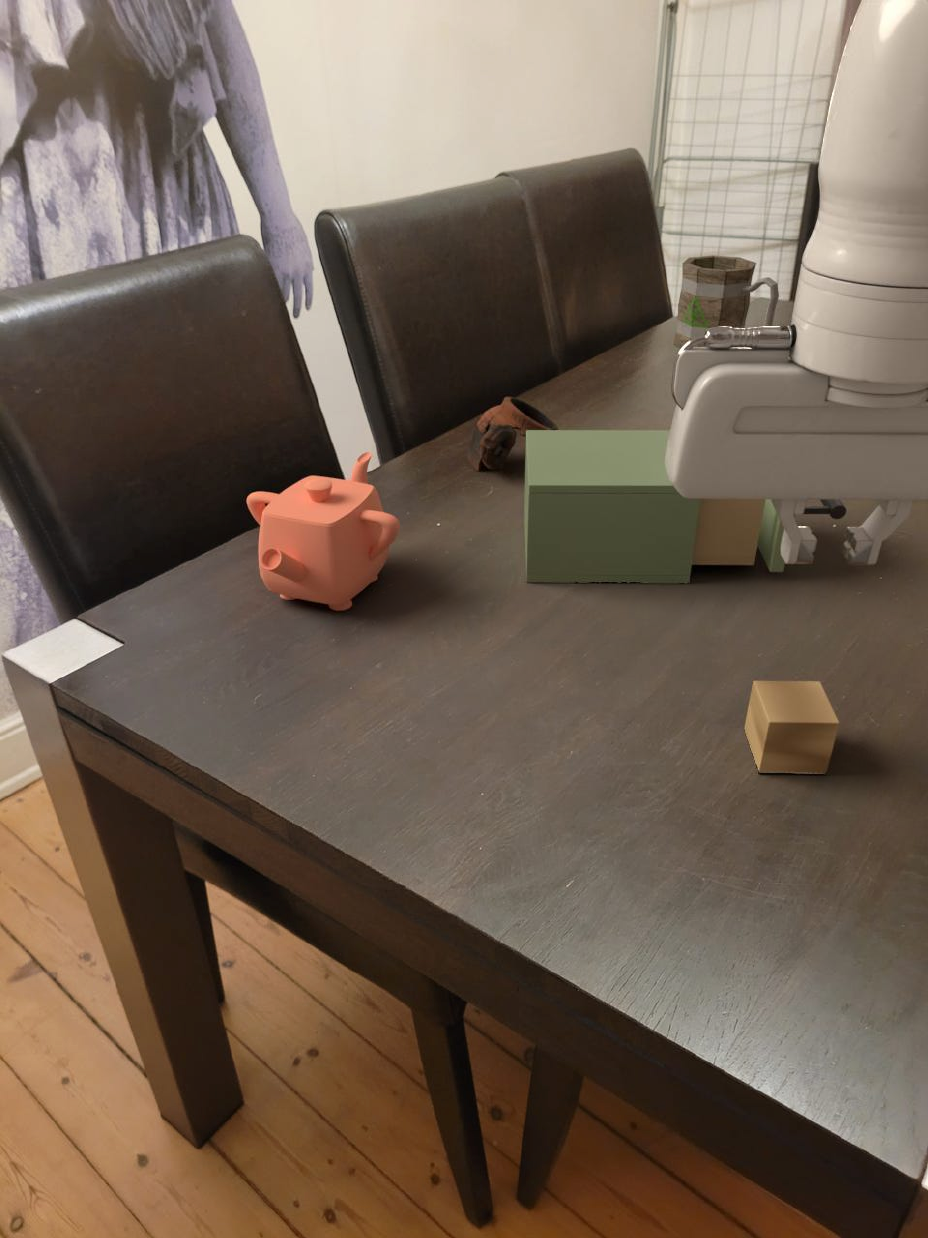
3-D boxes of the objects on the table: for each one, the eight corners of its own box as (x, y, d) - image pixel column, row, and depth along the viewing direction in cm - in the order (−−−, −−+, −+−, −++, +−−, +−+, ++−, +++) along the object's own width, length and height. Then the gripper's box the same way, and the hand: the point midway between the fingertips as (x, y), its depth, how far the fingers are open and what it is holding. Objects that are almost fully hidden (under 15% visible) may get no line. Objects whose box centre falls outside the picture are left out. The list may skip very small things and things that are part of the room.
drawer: (807, 515, 92) (823, 441, 88) (842, 572, 82) (861, 492, 78) (618, 514, 93) (624, 440, 88) (631, 571, 83) (638, 491, 79)
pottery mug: (473, 446, 111) (508, 387, 108) (538, 490, 110) (575, 431, 107) (440, 459, 100) (478, 393, 97) (511, 508, 100) (552, 443, 96)
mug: (658, 344, 144) (667, 263, 137) (699, 330, 150) (709, 252, 143) (746, 366, 134) (760, 280, 127) (786, 350, 140) (801, 267, 134)
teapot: (412, 615, 79) (406, 507, 74) (272, 639, 76) (256, 529, 71) (377, 541, 90) (369, 443, 85) (254, 560, 88) (238, 460, 82)
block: (807, 732, 65) (820, 680, 63) (826, 775, 62) (840, 722, 59) (743, 731, 66) (753, 680, 63) (757, 774, 62) (768, 722, 59)
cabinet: (668, 520, 93) (679, 429, 88) (689, 583, 83) (702, 485, 78) (523, 519, 94) (526, 429, 89) (526, 582, 83) (528, 484, 78)
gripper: (687, 344, 46) (659, 585, 53) (1112, 343, 45) (1022, 588, 52) (668, 310, 51) (645, 534, 58) (1048, 309, 50) (975, 536, 58)
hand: (826, 559), depth 55 cm, fingers closed
